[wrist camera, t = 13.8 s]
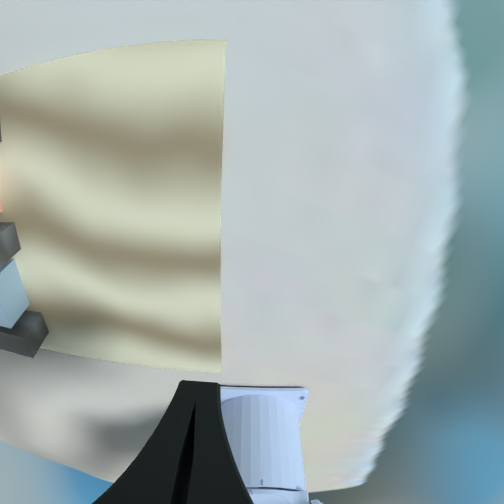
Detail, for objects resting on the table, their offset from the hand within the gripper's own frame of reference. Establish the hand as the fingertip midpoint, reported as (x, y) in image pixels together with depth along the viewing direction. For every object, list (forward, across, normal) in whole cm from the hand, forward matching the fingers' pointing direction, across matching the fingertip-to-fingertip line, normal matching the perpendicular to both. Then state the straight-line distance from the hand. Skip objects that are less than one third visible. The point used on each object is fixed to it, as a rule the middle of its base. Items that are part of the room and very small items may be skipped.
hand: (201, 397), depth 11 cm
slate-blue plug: (+9, +17, +2) cm, 19 cm away
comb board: (+9, +11, -2) cm, 15 cm away
